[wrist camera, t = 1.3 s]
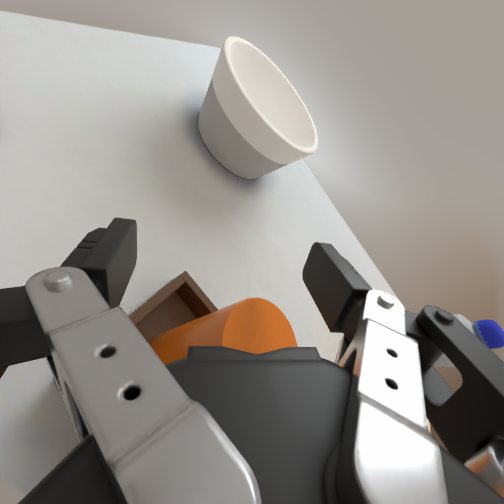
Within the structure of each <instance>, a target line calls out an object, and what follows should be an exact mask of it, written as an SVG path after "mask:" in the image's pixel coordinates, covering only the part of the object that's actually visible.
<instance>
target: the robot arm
mask: <svg viewBox="0 0 504 504" xmlns="http://www.w3.org/2000/svg"><path fill="white" fill-rule="evenodd" d="M136 259H137V224H136V220H132V219H123V218H114V219H113V221H112V222H111V223H110V225H109V226H108V228H107V229H106V228H98V229H96V230H94V231H92V232H89V233H88V234H87V235H86V236H85V237H84V239H83V240H82V242H80V243H79V244H78V246H77V248H75V249H74V250H73V252H72V253H71V254H70V255H69V256H68V258H67V259H66V260H65V261H64V262H63V263H62V265H61V266H60V267H55V268H50V269H46V270H43V271H41V272H38V273H36V274H35V275H33V276H32V277H30V278H29V279H28V281H27V282H26V285H25V286H21V287H13V288H5V289H0V378H1V377H2V375H3V374H4V372H5V371H6V369H7V367H8V366H10V365H14V364H18V363H23V362H27V361H31V360H36V359H40V358H44V357H46V360H47V363H48V365H49V367H50V370H51V372H52V375H53V377H54V380H55V382H56V385H57V387H58V389H59V392H60V394H61V397H62V399H63V402H64V404H65V407H66V410H67V412H68V416H69V419H70V421H71V424H72V427H73V430H74V432H75V435H76V437H77V440H78V442H79V444H78V445H77V446H76V447H75V448H74V449H73V450H72V451H71V452H70V453H69V454H68V455H67V456H66V457H65V458H64V459H63V460H62V461H61V462H60V463H59V464H58V465H57V466H56V467H55V468H54V469H53V470H52V471H51V472H50V473H49V474H48V475H47V476H46V477H45V478H43V479H42V480H41V481H40V482H39V483H38V484H37V485H36V486H35V487H34V488H33V489H32V490H31V491H30V492H29V493H28V494H27V495H26V496H25V497H24V498H23V499H22V500H21V501H20V502H19V503H18V504H504V362H503V361H502V360H501V359H500V358H499V357H498V356H497V355H496V354H494V353H493V352H492V351H491V350H490V349H489V348H488V347H487V346H486V345H485V344H484V343H483V342H482V341H481V340H480V339H478V338H477V337H476V336H475V335H474V334H473V333H472V332H471V331H470V330H469V329H468V328H467V327H466V326H465V325H463V324H462V323H461V322H460V321H459V320H458V319H457V318H456V317H455V316H453V315H452V314H450V313H449V312H447V311H445V310H443V309H441V308H438V307H436V306H431V305H426V306H424V307H423V309H422V310H421V312H420V313H419V314H416V313H412V312H409V311H406V310H404V307H403V305H402V304H401V303H400V302H399V301H398V300H397V299H396V298H395V297H393V296H391V295H390V294H388V293H385V292H383V291H379V290H373V289H372V288H371V287H370V286H369V285H368V283H367V282H366V281H365V280H364V279H363V278H362V277H361V275H360V274H358V272H357V271H356V270H355V269H354V267H353V266H352V265H351V264H350V263H349V262H348V261H347V260H346V259H345V258H343V257H342V256H341V255H340V254H339V253H338V252H337V250H336V249H335V248H334V247H333V246H332V245H331V244H326V243H318V242H315V243H314V244H313V245H312V247H311V250H310V253H309V255H308V258H307V261H306V263H305V266H304V269H303V281H304V283H305V285H306V287H307V289H308V290H309V292H310V294H311V296H312V298H313V300H314V302H315V304H316V305H317V307H318V309H319V311H320V313H321V315H322V317H323V319H324V321H325V322H326V324H327V326H328V328H329V330H330V332H337V333H343V334H344V335H343V337H342V339H341V341H340V345H339V348H338V352H337V356H336V360H335V363H333V362H331V361H329V360H326V359H323V358H320V355H319V353H318V351H317V349H316V347H285V348H281V349H277V350H273V351H269V352H265V353H261V354H254V353H250V352H245V351H241V350H237V349H232V348H228V347H224V346H188V354H187V357H185V358H181V359H178V360H175V361H173V362H170V363H168V364H166V365H164V364H163V363H162V361H161V360H160V359H159V357H158V356H157V354H156V353H155V352H154V350H153V349H152V348H151V346H150V345H149V344H148V342H147V341H146V340H145V338H144V337H143V336H142V334H141V333H140V332H139V330H138V329H137V328H136V326H135V325H134V324H133V322H132V321H131V320H130V318H129V317H128V316H127V314H126V313H125V312H124V310H123V309H122V308H121V307H119V305H120V302H121V300H122V297H123V295H124V293H125V290H126V288H127V285H128V283H129V280H130V278H131V275H132V273H133V270H134V268H135V265H136ZM443 353H444V354H445V355H446V356H447V357H448V359H449V360H450V361H451V362H452V363H453V364H454V366H455V367H456V368H457V369H458V370H459V371H460V373H461V375H462V379H463V383H462V386H461V387H460V388H459V389H458V390H457V391H456V392H455V393H454V392H453V391H452V390H451V388H450V387H449V386H448V385H447V383H446V382H445V381H444V379H443V378H442V377H441V376H440V374H439V373H438V372H437V371H436V369H435V368H434V367H433V365H434V363H435V362H436V361H437V360H438V359H439V358H440V357H441V356H442V354H443ZM426 417H427V418H426ZM427 419H428V420H429V422H430V423H431V425H432V426H433V428H434V430H435V431H436V432H437V434H438V436H439V437H440V439H441V440H442V442H443V443H444V445H445V447H446V448H447V450H448V451H449V452H448V451H446V450H445V449H444V448H443V447H441V446H440V445H439V444H438V442H437V440H436V439H435V438H434V437H433V436H432V435H431V434H430V433H429V431H428V426H427Z"/></svg>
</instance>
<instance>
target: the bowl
mask: <svg viewBox="0 0 504 504" xmlns="http://www.w3.org/2000/svg"><path fill="white" fill-rule="evenodd" d="M198 128H199V131H200V135H201V137H202V139H203V141H204V143H205V145H206V146H207V148H208V150H209V151H210V152H211V154H212V155H213V156H214V157H215V158H216V160H217V161H218V162H219V163H220V164H221V165H223V166H224V167H225V168H226V169H227V170H229V171H230V172H232V173H233V174H235V175H237V176H239V177H241V178H245V179H256V178H259V177H261V176H263V175H265V174H267V173H270V172H272V171H274V170H276V169H279V168H281V167H283V166H285V165H287V164H290V163H293V162H295V161H297V160H299V159H301V158H304V157H306V156H308V155H310V154H312V153H314V152H315V151H316V149H317V146H318V137H317V132H316V129H315V125H314V123H313V120H312V118H311V116H310V114H309V112H308V110H307V108H306V106H305V104H304V103H303V101H302V99H301V98H300V96H299V95H298V93H297V91H296V90H295V88H293V86H292V84H291V83H290V82H289V80H288V79H287V78H286V77H285V76H284V74H283V73H282V72H281V71H280V69H279V68H278V67H277V66H276V65H275V64H274V63H273V62H272V61H271V60H270V59H269V58H268V57H267V56H266V55H265V54H264V53H263V52H261V51H260V50H259V49H258V48H257V47H255V46H254V45H252V44H250V43H249V42H247V41H246V40H244V39H242V38H239V37H235V36H233V37H228V38H227V39H226V40H225V41H224V44H223V47H222V49H221V52H220V55H219V58H218V61H217V64H216V67H215V70H214V73H213V76H212V79H211V82H210V85H209V88H208V91H207V94H206V97H205V99H204V102H203V105H202V108H201V111H200V114H199V118H198Z"/></svg>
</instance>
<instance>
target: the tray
mask: <svg viewBox="0 0 504 504" xmlns="http://www.w3.org/2000/svg"><path fill="white" fill-rule="evenodd" d="M215 311H218V309H217V308H216V307H215V306H214V304H213V303H212V302H211V301H210V300H209V298H208V297H207V296H206V295H205V294H204V292H203V291H202V290H201V289H200V287H199V286H198V285H197V284H196V283H195V281H194V280H193V279H192V278H191V277H190V275H189V274H188V273H187V272H186V271H185V272H183V273H182V274H180V275H179V276H177V277H176V278H175V279H173V280H172V281H170V282H169V283H168V284H167V285H166V286H164V287H163V288H162V289H161V290H159V291H158V292H157V293H156V294H155V295H153V296H152V297H151V298H150V299H149V300H147V301H146V302H145V303H144V304H142V305H141V306H140V307H139V308H138V309H136V310H135V311H134V312H133V313H132V314H130V315H129V316H128V317H129V318H130V320H131V321H132V322H133V324H134V325H135V326H136V328H137V329H138V330H139V332H140V333H141V334H142V336H143V337H144V338H145V340H146V341H147V342H149V341H150V340H151V339H153V338H154V337H155V336H157V335H159V334H161V333H163V332H166V331H168V330H171V329H173V328H176V327H178V326H181V325H183V324H186V323H188V322H191V321H193V320H196V319H198V318H201V317H203V316H206V315H208V314H211V313H213V312H215Z"/></svg>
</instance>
